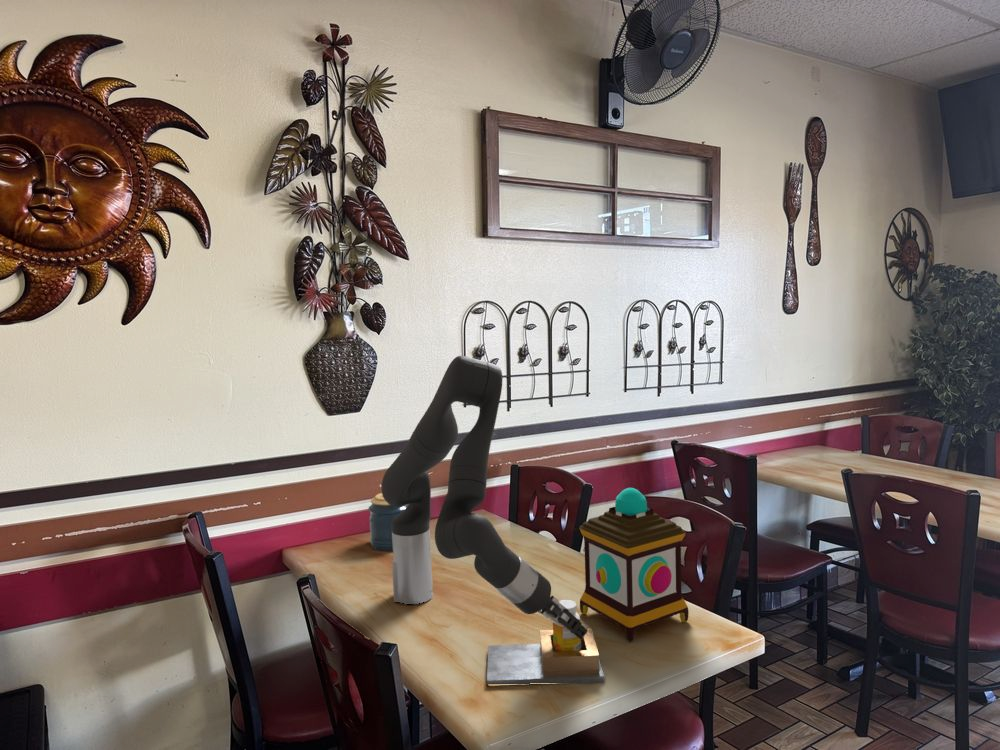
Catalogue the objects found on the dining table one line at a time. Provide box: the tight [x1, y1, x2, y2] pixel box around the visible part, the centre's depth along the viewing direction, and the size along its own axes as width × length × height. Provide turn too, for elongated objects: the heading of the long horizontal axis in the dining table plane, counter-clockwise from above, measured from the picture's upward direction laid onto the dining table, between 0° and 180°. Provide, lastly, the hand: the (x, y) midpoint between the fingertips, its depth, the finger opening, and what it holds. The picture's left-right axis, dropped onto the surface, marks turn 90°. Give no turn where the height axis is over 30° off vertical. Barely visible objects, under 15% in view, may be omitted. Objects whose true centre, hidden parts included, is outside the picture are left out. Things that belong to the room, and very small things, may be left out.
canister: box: [368, 492, 409, 552], centre depth 203 cm, size 13×13×18 cm
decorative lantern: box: [578, 487, 689, 643], centre depth 148 cm, size 20×20×30 cm
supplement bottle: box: [552, 599, 581, 652], centre depth 130 cm, size 5×5×10 cm
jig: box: [486, 628, 605, 685], centre depth 131 cm, size 22×13×5 cm, turn 90°
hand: (574, 628), depth 131 cm, fingers closed on supplement bottle, 5 cm apart
